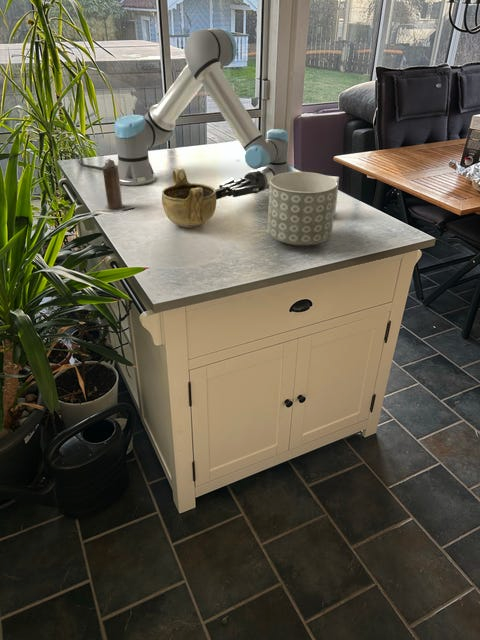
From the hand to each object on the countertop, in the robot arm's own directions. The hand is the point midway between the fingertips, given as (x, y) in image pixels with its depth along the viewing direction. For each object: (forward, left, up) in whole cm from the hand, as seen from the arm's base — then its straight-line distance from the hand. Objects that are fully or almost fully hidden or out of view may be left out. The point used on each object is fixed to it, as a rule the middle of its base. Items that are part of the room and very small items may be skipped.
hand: (211, 196), depth 164 cm
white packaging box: (+24, +29, -7) cm, 38 cm away
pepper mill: (-28, -20, -7) cm, 35 cm away
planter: (+33, +7, -7) cm, 34 cm away
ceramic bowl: (+1, -9, -7) cm, 12 cm away
